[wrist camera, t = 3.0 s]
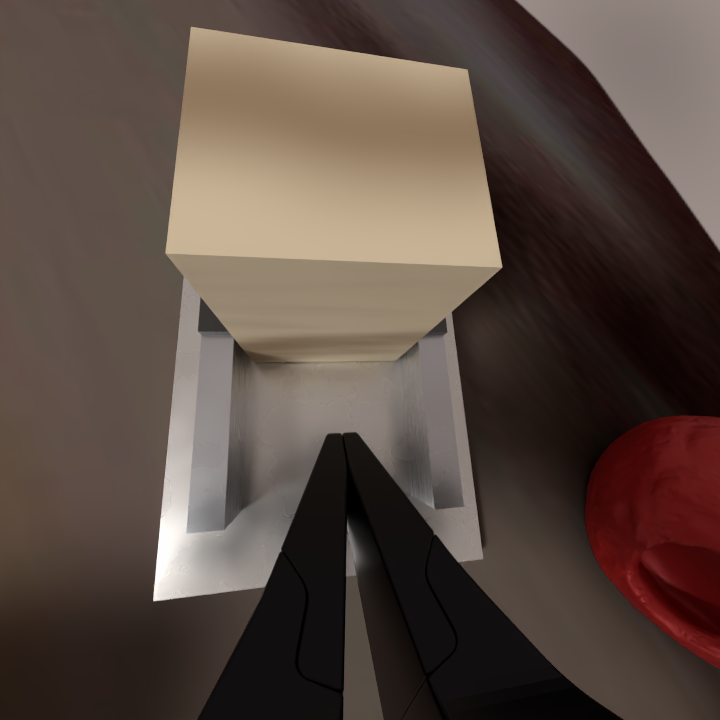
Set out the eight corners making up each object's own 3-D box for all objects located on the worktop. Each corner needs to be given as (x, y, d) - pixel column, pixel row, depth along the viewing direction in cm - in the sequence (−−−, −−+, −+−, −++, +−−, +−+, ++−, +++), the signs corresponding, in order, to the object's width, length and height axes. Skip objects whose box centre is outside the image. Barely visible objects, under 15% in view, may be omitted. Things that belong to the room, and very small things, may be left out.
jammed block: (396, 360, 15) (502, 267, 7) (253, 362, 14) (165, 253, 6) (387, 256, 17) (467, 69, 8) (257, 250, 16) (191, 26, 7)
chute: (476, 553, 15) (531, 593, 11) (160, 593, 12) (96, 660, 9) (423, 128, 21) (447, 62, 17) (205, 102, 18) (178, 20, 15)
